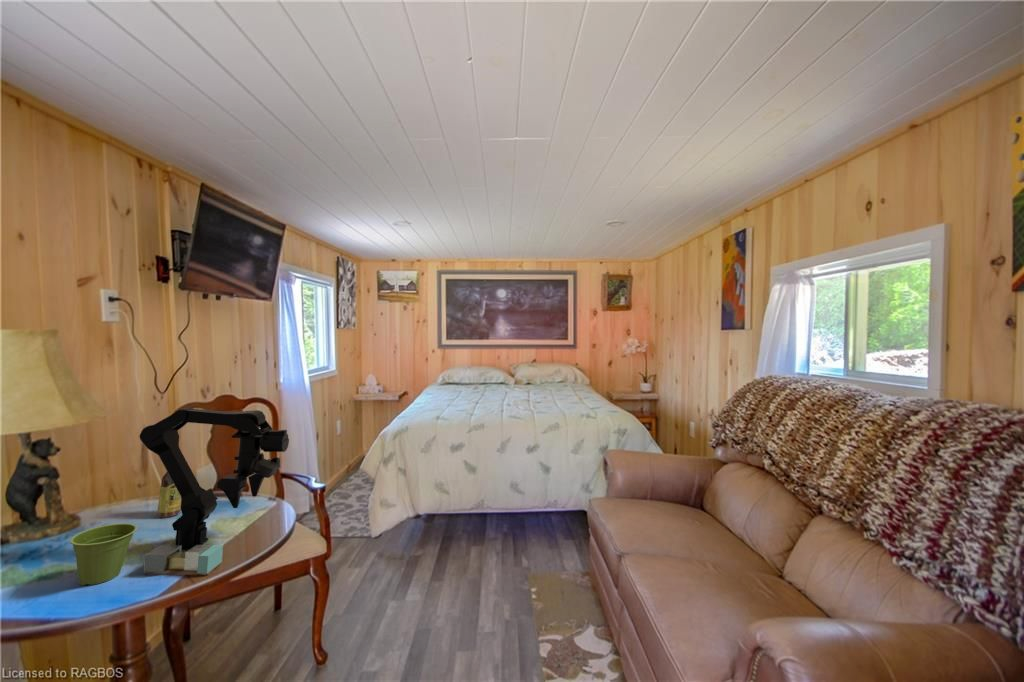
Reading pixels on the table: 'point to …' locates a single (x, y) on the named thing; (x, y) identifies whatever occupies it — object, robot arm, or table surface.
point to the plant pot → (101, 551)
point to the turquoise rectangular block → (210, 559)
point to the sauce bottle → (168, 498)
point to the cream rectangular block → (186, 558)
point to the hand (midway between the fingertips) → (245, 501)
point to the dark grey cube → (159, 558)
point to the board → (177, 572)
